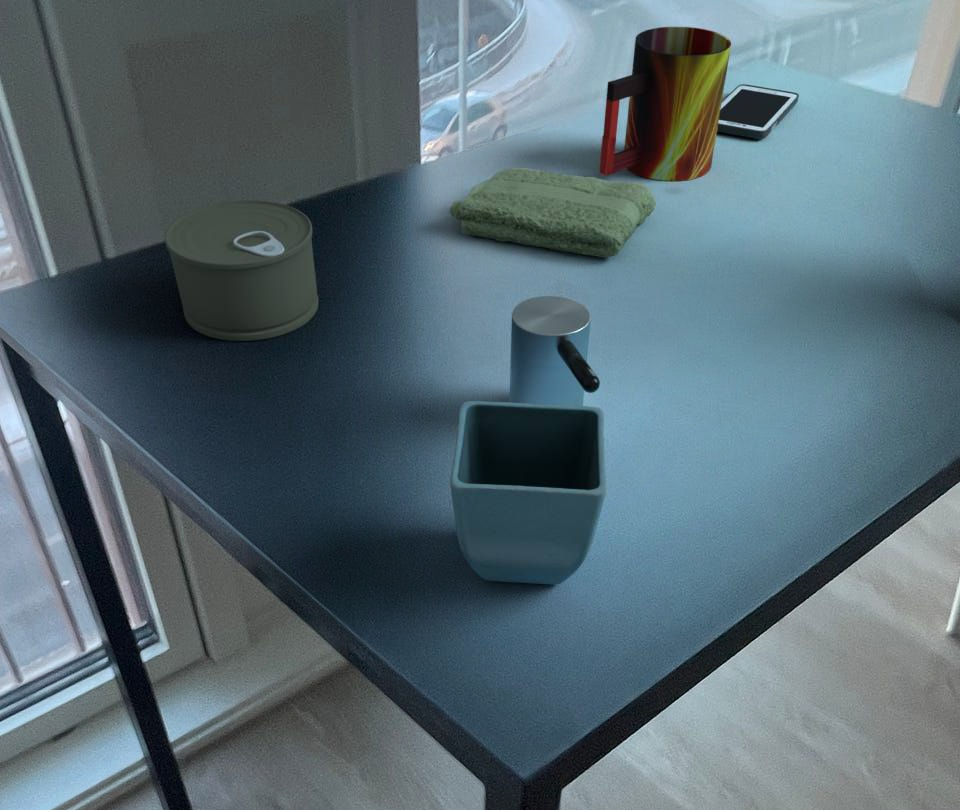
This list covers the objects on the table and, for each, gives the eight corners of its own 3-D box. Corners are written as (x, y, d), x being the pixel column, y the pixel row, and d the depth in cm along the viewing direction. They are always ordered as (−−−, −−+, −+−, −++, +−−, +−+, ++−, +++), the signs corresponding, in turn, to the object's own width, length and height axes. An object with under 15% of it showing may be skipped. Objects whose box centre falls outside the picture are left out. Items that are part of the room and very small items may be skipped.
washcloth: (498, 184, 107) (498, 152, 104) (658, 214, 101) (662, 182, 99) (444, 234, 98) (443, 200, 96) (615, 269, 93) (619, 235, 91)
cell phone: (799, 101, 124) (801, 93, 123) (763, 141, 115) (765, 132, 114) (738, 91, 126) (740, 82, 125) (699, 129, 117) (700, 120, 116)
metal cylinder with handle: (499, 397, 78) (501, 301, 73) (566, 386, 80) (573, 291, 74) (548, 481, 71) (555, 381, 65) (622, 467, 72) (634, 368, 66)
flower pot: (591, 518, 68) (604, 404, 62) (593, 609, 62) (607, 493, 56) (462, 512, 69) (461, 398, 62) (451, 602, 62) (448, 486, 56)
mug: (596, 185, 106) (607, 60, 98) (638, 141, 115) (652, 21, 106) (685, 202, 104) (704, 74, 95) (721, 155, 112) (741, 34, 104)
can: (269, 262, 94) (257, 187, 89) (348, 309, 88) (341, 231, 83) (155, 305, 88) (136, 228, 83) (232, 358, 82) (216, 278, 77)
